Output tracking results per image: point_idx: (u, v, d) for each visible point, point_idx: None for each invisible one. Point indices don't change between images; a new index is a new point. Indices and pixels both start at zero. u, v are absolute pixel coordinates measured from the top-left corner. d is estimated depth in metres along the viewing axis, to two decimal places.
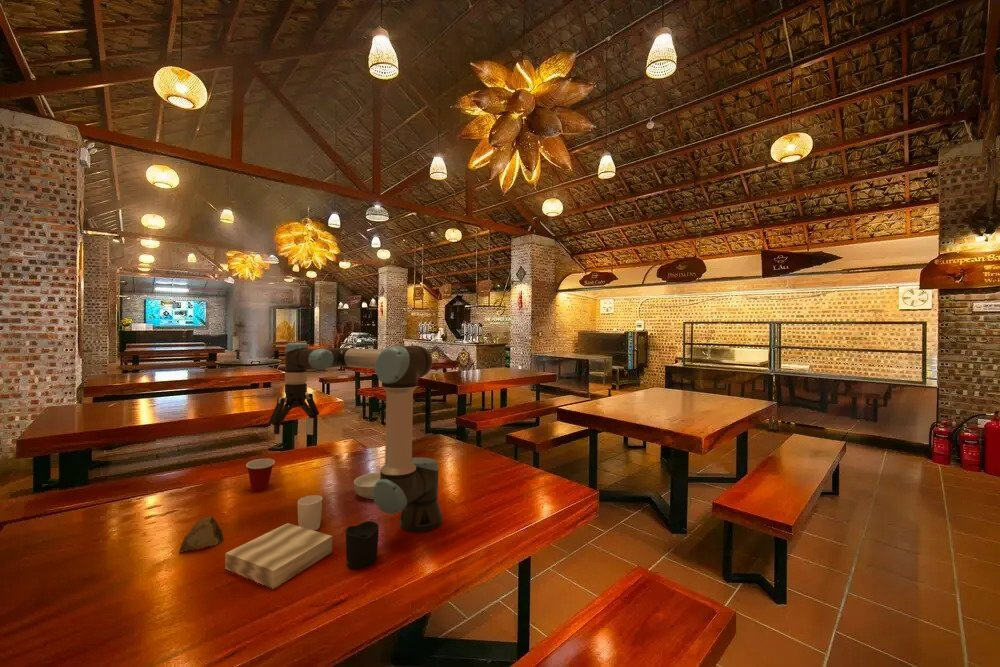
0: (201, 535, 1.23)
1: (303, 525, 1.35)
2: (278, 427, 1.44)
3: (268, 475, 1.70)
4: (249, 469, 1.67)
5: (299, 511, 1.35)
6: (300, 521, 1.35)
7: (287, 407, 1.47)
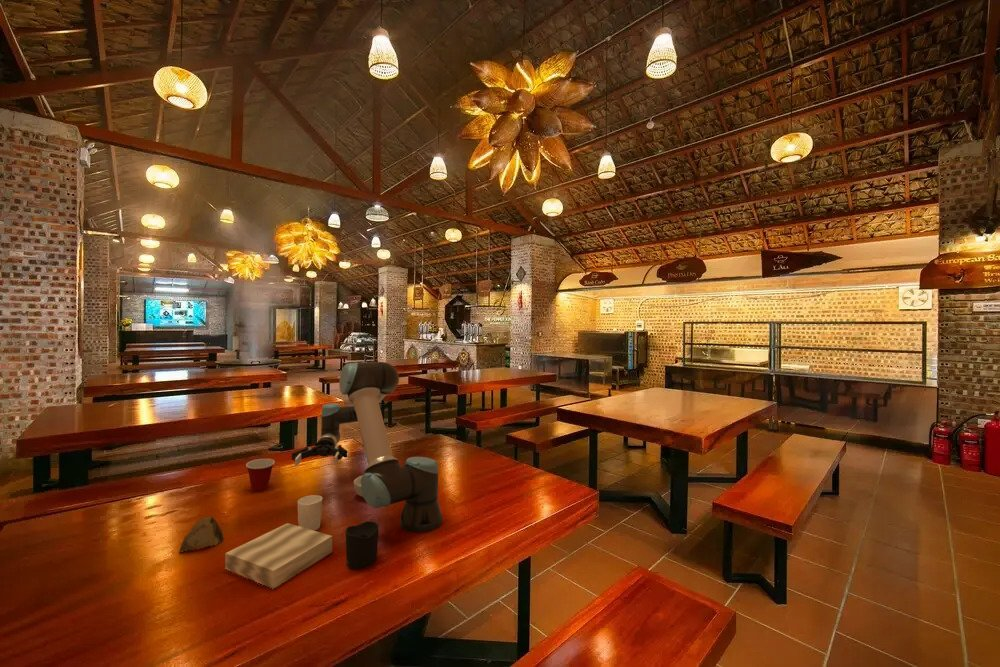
0: (201, 535, 1.23)
1: (303, 525, 1.35)
2: (297, 455, 1.51)
3: (268, 475, 1.70)
4: (249, 469, 1.67)
5: (299, 511, 1.35)
6: (300, 521, 1.35)
7: None
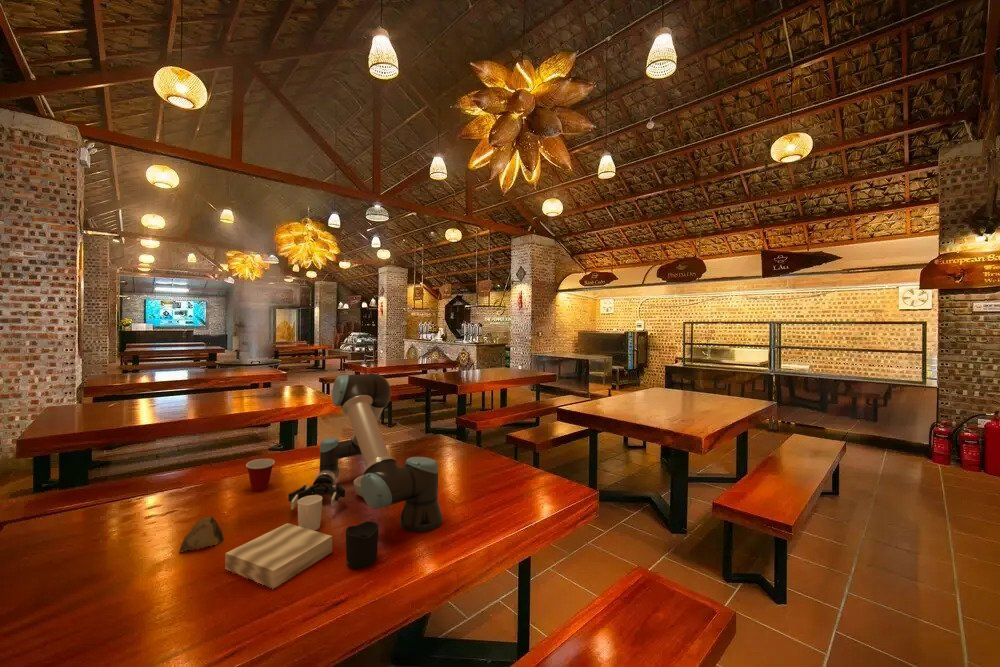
0: (201, 535, 1.23)
1: (303, 525, 1.35)
2: (294, 497, 1.48)
3: (268, 475, 1.70)
4: (249, 469, 1.67)
5: (299, 511, 1.35)
6: (300, 521, 1.35)
7: None
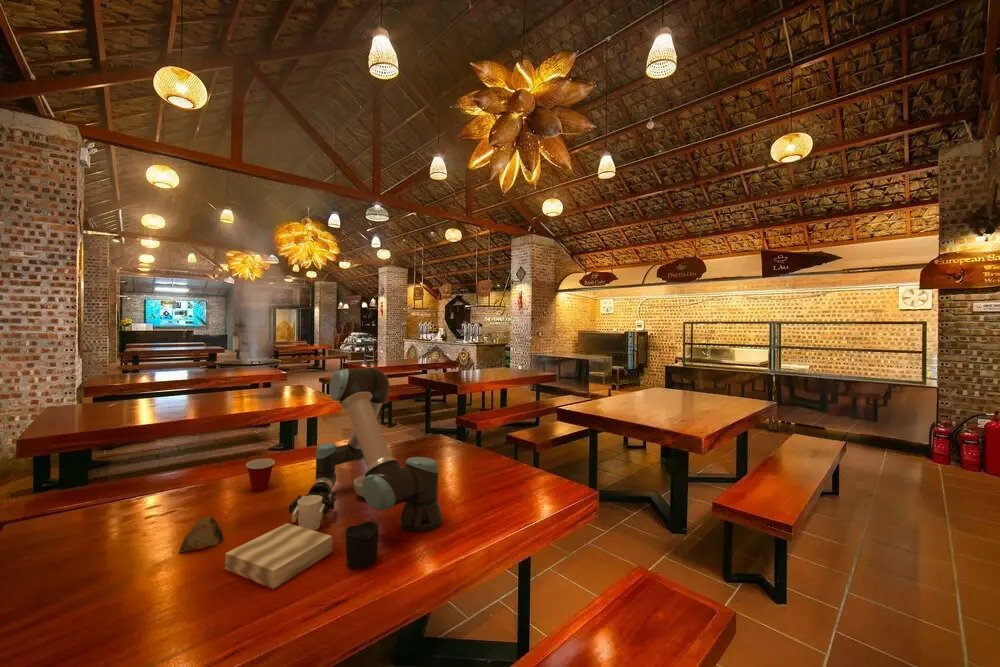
0: (201, 535, 1.23)
1: (303, 525, 1.35)
2: (295, 508, 1.38)
3: (268, 475, 1.70)
4: (249, 469, 1.67)
5: (299, 511, 1.35)
6: (300, 521, 1.35)
7: None
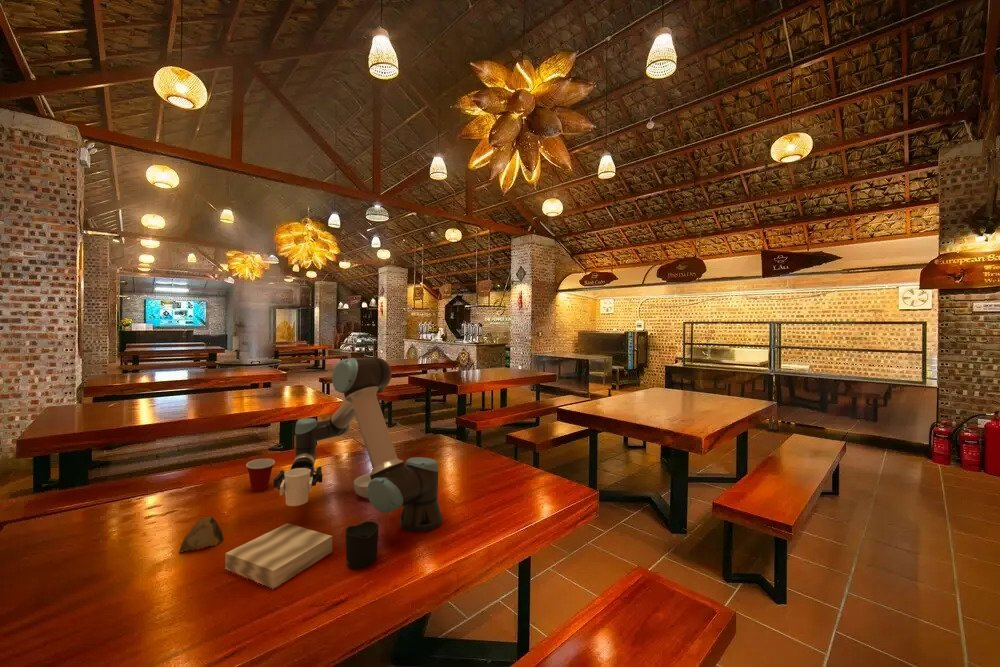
0: (201, 535, 1.23)
1: (291, 499, 1.28)
2: (281, 482, 1.31)
3: (268, 475, 1.70)
4: (249, 469, 1.67)
5: (287, 484, 1.28)
6: (288, 494, 1.28)
7: None
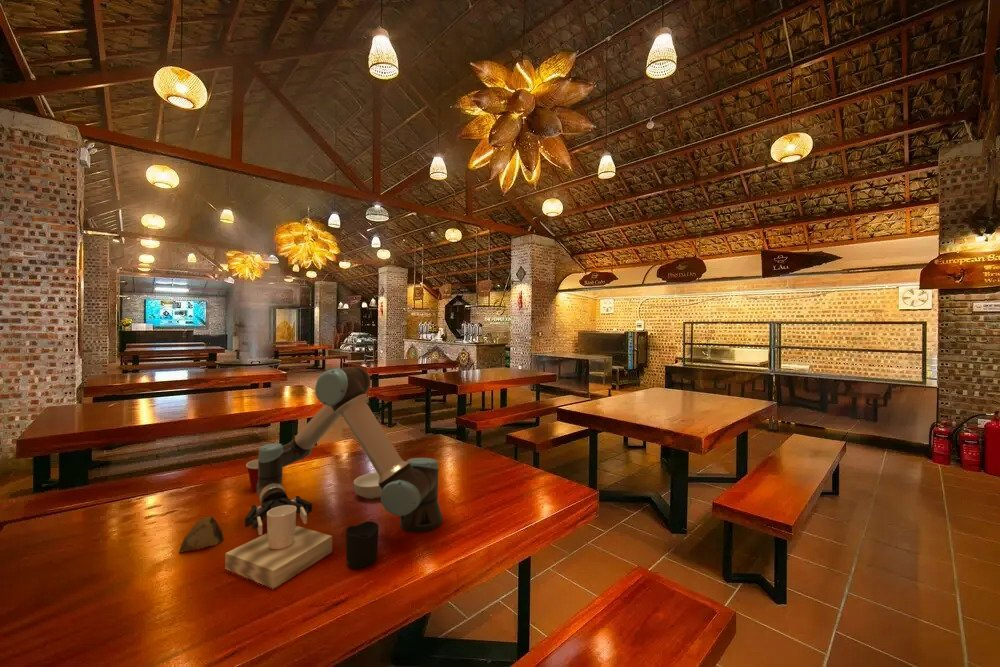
0: (201, 535, 1.23)
1: (277, 541, 1.15)
2: (255, 520, 1.16)
3: None
4: (249, 469, 1.67)
5: (272, 525, 1.15)
6: (273, 537, 1.15)
7: None
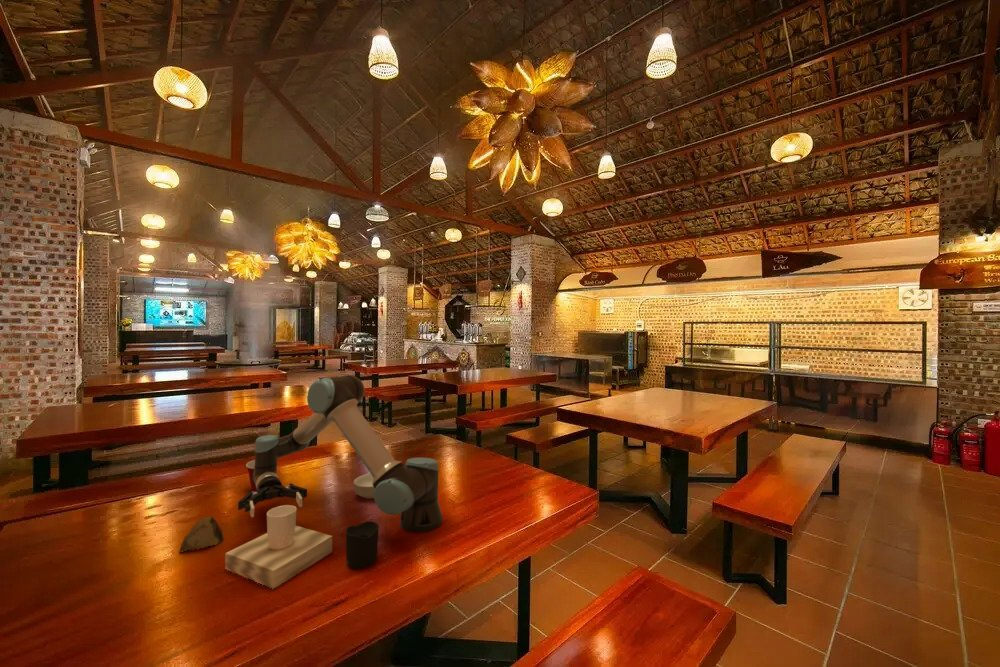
0: (201, 535, 1.23)
1: (277, 541, 1.15)
2: (248, 504, 1.26)
3: None
4: (249, 469, 1.67)
5: (272, 525, 1.15)
6: (273, 537, 1.15)
7: None
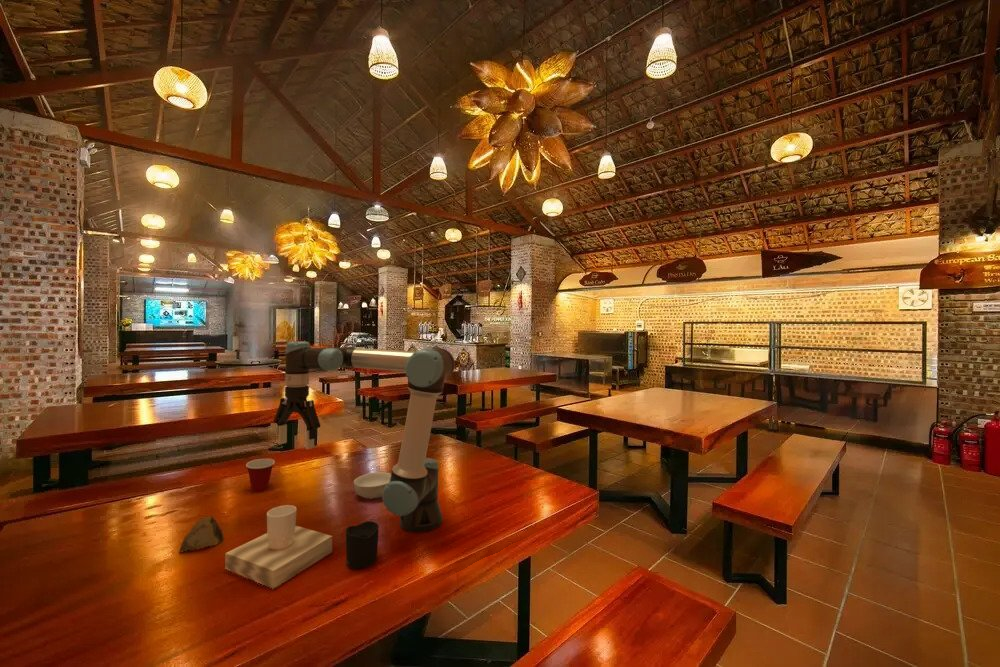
0: (201, 535, 1.23)
1: (277, 542, 1.15)
2: None
3: (268, 475, 1.70)
4: (249, 469, 1.67)
5: (272, 526, 1.15)
6: (273, 537, 1.15)
7: (306, 411, 1.38)
